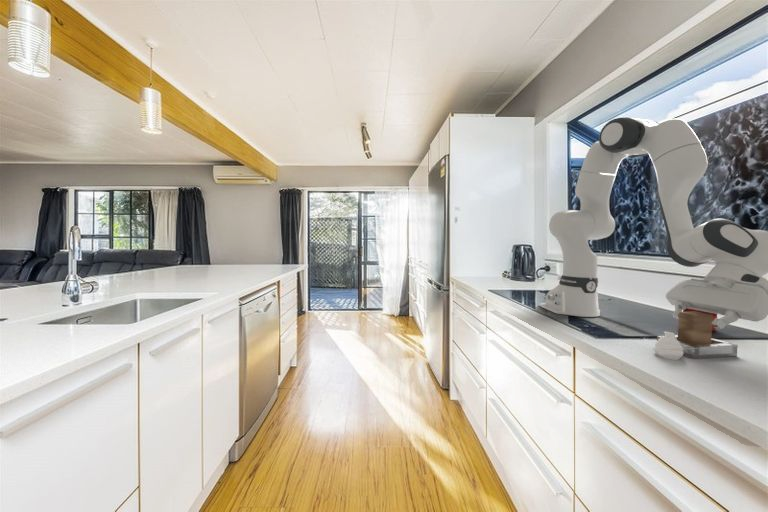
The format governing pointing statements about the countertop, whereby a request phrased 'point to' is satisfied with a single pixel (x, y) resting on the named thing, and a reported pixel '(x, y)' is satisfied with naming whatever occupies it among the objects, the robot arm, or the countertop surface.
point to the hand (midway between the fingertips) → (695, 321)
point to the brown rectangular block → (695, 328)
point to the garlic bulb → (668, 347)
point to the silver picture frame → (708, 349)
